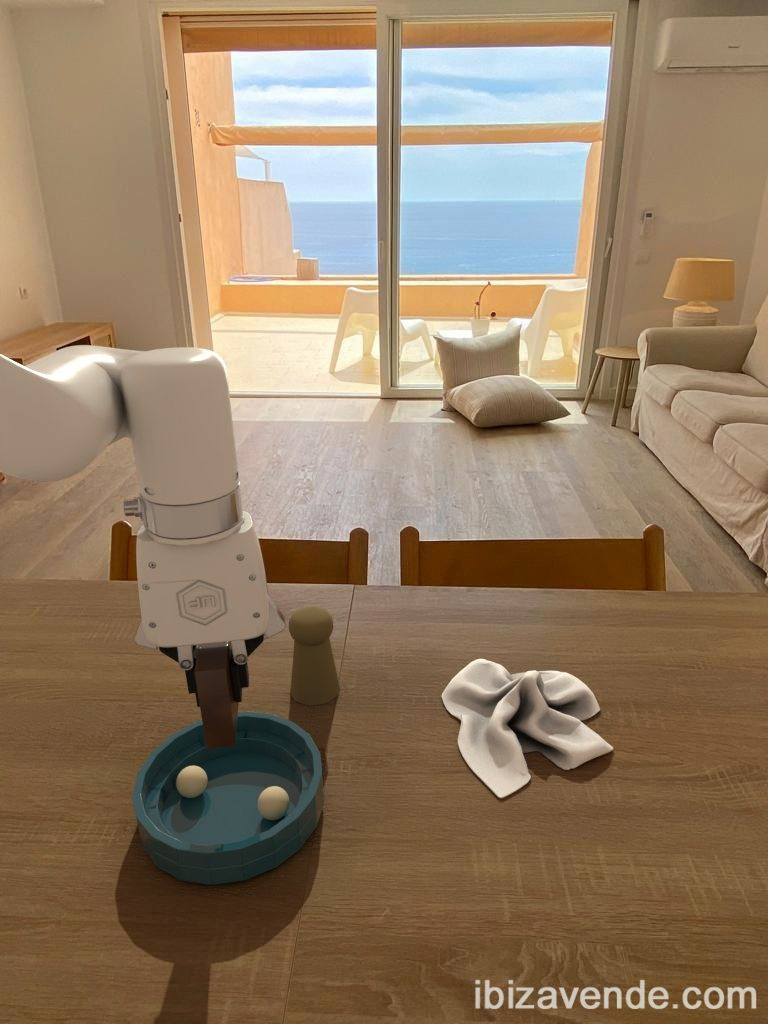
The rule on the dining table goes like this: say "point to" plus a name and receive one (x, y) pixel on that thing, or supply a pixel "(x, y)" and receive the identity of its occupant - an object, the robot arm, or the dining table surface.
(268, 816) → the dough ball
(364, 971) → the dining table surface
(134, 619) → the dining table surface
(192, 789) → the dough ball
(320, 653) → the olive chess pawn
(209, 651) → the brown brick
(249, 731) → the bowl
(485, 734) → the cloth
